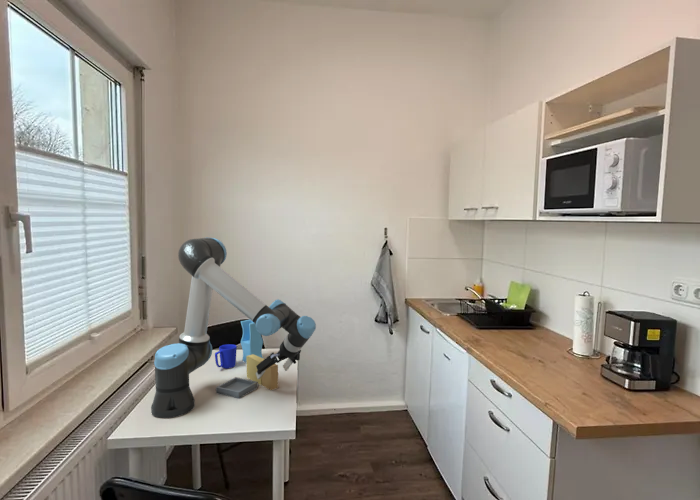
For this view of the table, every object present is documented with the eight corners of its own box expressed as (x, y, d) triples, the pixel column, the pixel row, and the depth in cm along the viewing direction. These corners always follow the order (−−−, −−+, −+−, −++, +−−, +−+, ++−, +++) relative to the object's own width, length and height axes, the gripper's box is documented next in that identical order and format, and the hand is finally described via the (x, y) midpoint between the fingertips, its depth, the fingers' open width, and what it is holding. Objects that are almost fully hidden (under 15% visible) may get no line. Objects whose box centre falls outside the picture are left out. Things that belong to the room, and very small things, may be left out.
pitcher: (241, 360, 211) (240, 321, 210) (253, 356, 217) (253, 318, 216) (250, 363, 206) (249, 324, 205) (263, 359, 212) (262, 321, 211)
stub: (278, 388, 176) (277, 365, 176) (271, 390, 174) (270, 367, 173) (268, 383, 181) (268, 361, 181) (262, 385, 179) (261, 362, 178)
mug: (209, 370, 197) (209, 350, 196) (228, 363, 207) (227, 343, 207) (222, 373, 193) (222, 352, 192) (240, 365, 204) (240, 345, 203)
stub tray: (238, 398, 166) (238, 392, 166) (216, 393, 171) (216, 387, 171) (258, 387, 177) (257, 381, 177) (236, 382, 182) (235, 377, 182)
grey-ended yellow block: (268, 383, 182) (268, 360, 181) (261, 385, 179) (261, 362, 178) (253, 375, 190) (253, 353, 190) (246, 377, 188) (246, 355, 187)
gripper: (268, 360, 155) (248, 388, 167) (320, 346, 172) (298, 372, 184) (260, 343, 158) (241, 371, 170) (312, 331, 176) (291, 357, 188)
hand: (271, 372), depth 177 cm, fingers open, 13 cm apart
